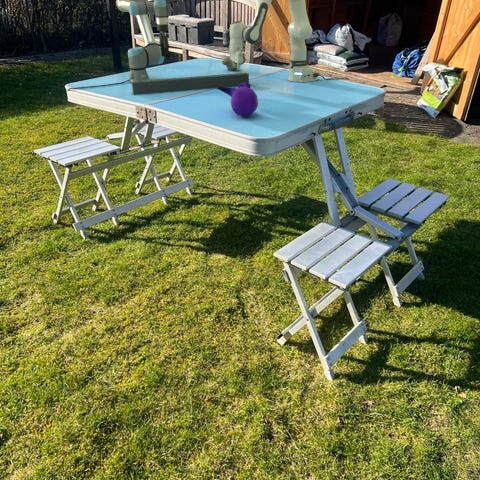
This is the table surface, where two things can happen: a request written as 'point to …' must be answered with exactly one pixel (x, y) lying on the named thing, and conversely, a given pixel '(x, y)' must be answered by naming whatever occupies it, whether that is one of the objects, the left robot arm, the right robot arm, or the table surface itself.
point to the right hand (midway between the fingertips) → (236, 68)
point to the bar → (188, 83)
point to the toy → (242, 99)
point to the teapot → (229, 63)
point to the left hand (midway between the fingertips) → (165, 57)
